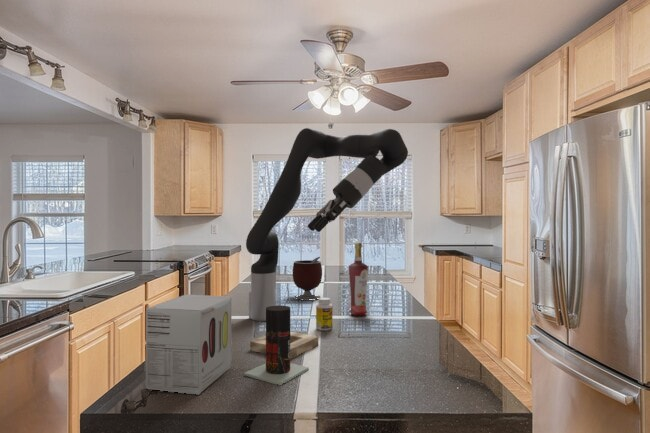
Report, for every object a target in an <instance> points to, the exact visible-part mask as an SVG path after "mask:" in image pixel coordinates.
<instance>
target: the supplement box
mask: <svg viewBox="0 0 650 433" xmlns="http://www.w3.org/2000/svg"><path fill="white" fill-rule="evenodd" d="M232 299H233V298H232V296H230V295H229V296H226V295H224V296H223V295H208V294H206V295H205V294H203V295H202V294H183V295H180V296H178V297H174V298H172V299H169V300H165V301H163V302H161V303H157V304H155V305H152V306H149V307H147V308H146V307H145V308H146V311H145V389H146V388H148V389H155V390H160V391H159V392H163V391H168V392H167V393H174V392H178V393H177V394H184V393H186V394H185V395H195V394H196V396H197V395H201V393H203V391H205V389H207V388H208V387H209V386H211V385H212V384H214V382H216V380H217V379H219V378H220V377H221V376H223V375H224V374H225V373H226V372H227V371H229V370H230V369H231V368H232V317H233V316H232V314H233V313H232V312H233V311H232V310H233V309H232V308H233V307H232V305H233V304H232V303H233V302H232Z"/></svg>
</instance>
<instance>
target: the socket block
mask: <svg viewBox="0 0 650 433" xmlns="http://www.w3.org/2000/svg"><path fill="white" fill-rule="evenodd" d="M249 343H250V344H249V349H250V351H252V352H257V353H259V354H265V355H266V335H263V336H261V337H258V338H256V339H253V340H250V342H249ZM318 346H319V336H316V335H311V334H306V333H301V332H300V333H299V332H294V331H290V360H292V359H293V358H296V357H297V356H299V354H300V355H301V353H302V354H304V353H306V352H308V351H309V350H312V349H313V348H315V347H318ZM307 350H308V351H307ZM305 351H306V352H305Z"/></svg>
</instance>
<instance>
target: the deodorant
mask: <svg viewBox="0 0 650 433" xmlns="http://www.w3.org/2000/svg"><path fill="white" fill-rule="evenodd" d="M290 332H291V307H290V306H288V305H276V306H269V307H267V308H266V321H265V336H266V354H265V363H266V372H267V373H270V374H284V373H287V372H289V371H290V363H291V359H290Z"/></svg>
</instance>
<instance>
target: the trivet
mask: <svg viewBox="0 0 650 433" xmlns="http://www.w3.org/2000/svg"><path fill="white" fill-rule="evenodd" d="M307 370H308V371H309V367H308V366H305V365H299V364H295V363H291V362H290V371H289V372H287V373H284V374H270V373H267V372H266V362H265V363H263V364H260V365H258V366H257V367H254V368H252V369H250V370H248V371H245V372H244V373H243V374H244V376H246V377H249V378H252V379H256V380H260V381H263V382H267V383H270V384H273V385H277V384H278V385H277V386H280V385H281V386H283V385H284V384H283V383H285V382H286V383H288V382H290V381H292V380H293V379H295V378H297V377H299V376H301V375H303V374H304V373H306V372H308V371H307ZM305 371H306V372H305ZM298 375H299V376H298ZM296 376H297V377H296ZM294 377H295V378H294ZM292 378H293V379H292ZM291 379H292V380H291ZM289 380H290V381H289ZM287 381H288V382H287ZM286 383H285V384H286ZM282 384H283V385H282Z"/></svg>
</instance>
